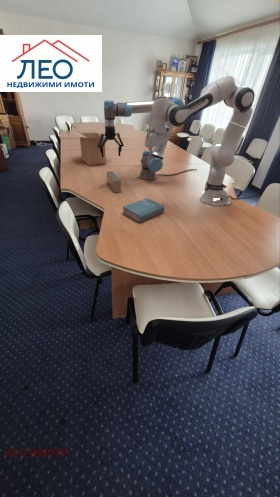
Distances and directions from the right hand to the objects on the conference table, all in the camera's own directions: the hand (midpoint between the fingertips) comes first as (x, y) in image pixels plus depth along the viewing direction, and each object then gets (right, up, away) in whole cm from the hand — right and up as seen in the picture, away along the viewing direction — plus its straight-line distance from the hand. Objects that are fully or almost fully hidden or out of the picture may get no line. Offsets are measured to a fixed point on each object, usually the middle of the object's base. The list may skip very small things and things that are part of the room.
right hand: (155, 153), depth 142 cm
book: (-8, -38, +5) cm, 39 cm away
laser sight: (+2, +29, +97) cm, 101 cm away
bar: (-32, -11, +39) cm, 52 cm away
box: (-60, +32, +95) cm, 117 cm away
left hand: (-33, +11, +32) cm, 47 cm away
